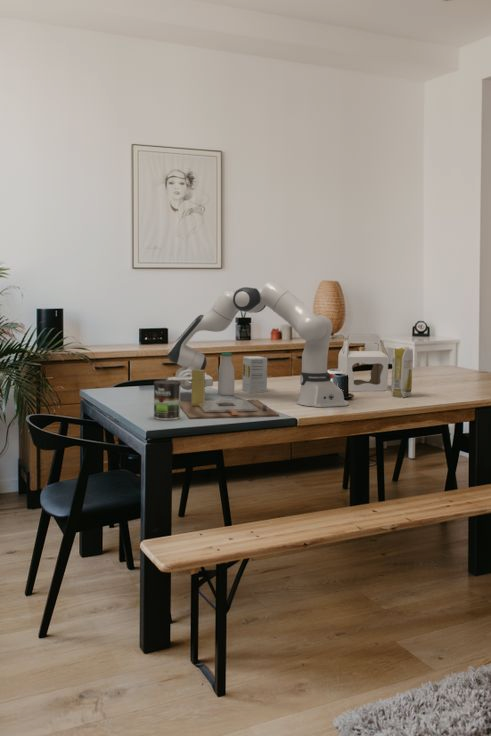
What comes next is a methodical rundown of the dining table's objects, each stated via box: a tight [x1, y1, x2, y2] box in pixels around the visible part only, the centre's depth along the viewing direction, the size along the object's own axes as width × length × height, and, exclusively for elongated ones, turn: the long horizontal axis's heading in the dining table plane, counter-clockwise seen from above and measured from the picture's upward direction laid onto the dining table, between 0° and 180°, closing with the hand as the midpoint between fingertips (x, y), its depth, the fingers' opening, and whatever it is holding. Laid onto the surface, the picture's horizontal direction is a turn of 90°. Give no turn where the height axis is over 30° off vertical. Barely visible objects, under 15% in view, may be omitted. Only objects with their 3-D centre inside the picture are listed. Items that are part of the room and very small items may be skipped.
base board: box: [180, 399, 280, 420], centre depth 288 cm, size 36×36×3 cm
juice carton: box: [390, 345, 414, 398], centre depth 329 cm, size 9×8×24 cm
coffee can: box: [153, 379, 181, 421], centre depth 268 cm, size 10×10×14 cm
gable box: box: [337, 333, 389, 393], centre depth 350 cm, size 22×13×28 cm, turn 102°
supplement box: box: [242, 355, 268, 394], centre depth 339 cm, size 10×9×17 cm
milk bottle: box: [217, 351, 235, 397], centre depth 326 cm, size 8×8×20 cm
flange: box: [191, 369, 258, 415], centre depth 283 cm, size 25×29×15 cm
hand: (192, 384), depth 301 cm, fingers closed
